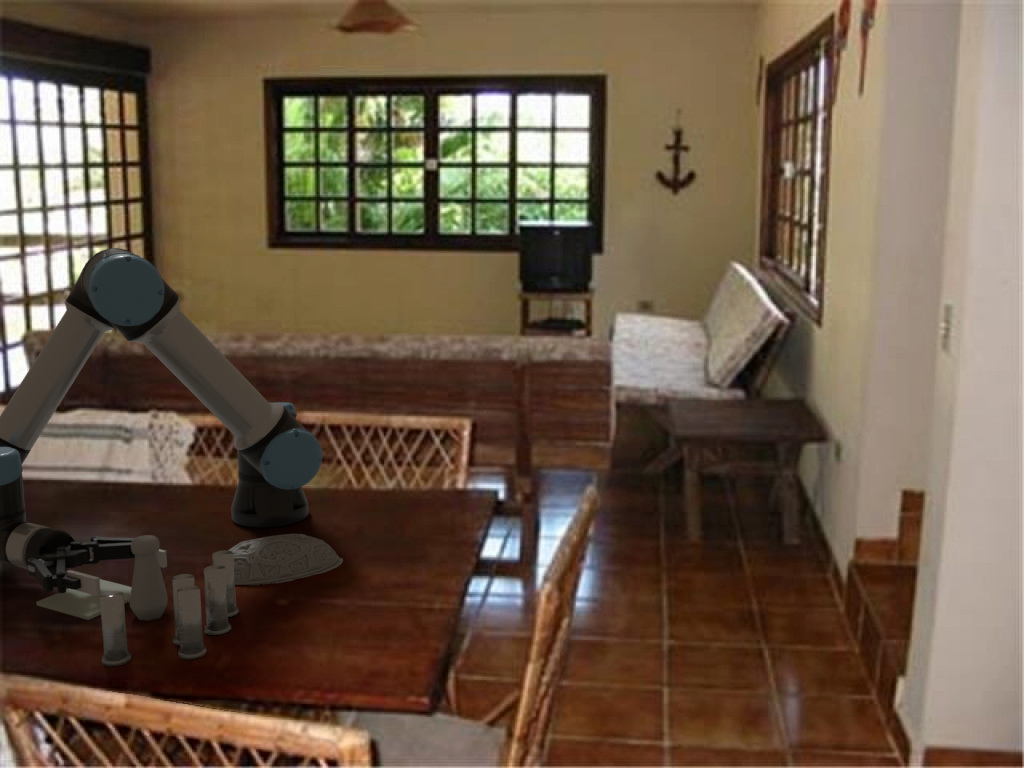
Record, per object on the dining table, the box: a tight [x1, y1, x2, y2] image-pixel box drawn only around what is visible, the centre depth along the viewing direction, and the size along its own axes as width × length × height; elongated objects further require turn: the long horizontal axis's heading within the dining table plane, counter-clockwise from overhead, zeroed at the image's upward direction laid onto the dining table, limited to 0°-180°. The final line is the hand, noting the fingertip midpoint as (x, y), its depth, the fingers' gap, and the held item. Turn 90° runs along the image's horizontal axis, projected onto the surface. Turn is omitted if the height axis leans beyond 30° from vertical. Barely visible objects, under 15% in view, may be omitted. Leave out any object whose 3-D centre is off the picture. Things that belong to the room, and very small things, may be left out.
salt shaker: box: [129, 534, 168, 622], centre depth 180 cm, size 6×6×13 cm
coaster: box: [35, 578, 132, 621], centre depth 188 cm, size 12×12×1 cm
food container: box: [227, 533, 344, 586], centre depth 202 cm, size 16×25×7 cm, turn 117°
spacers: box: [100, 549, 240, 667], centre depth 172 cm, size 21×17×10 cm
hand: (132, 572), depth 181 cm, fingers open, 13 cm apart
